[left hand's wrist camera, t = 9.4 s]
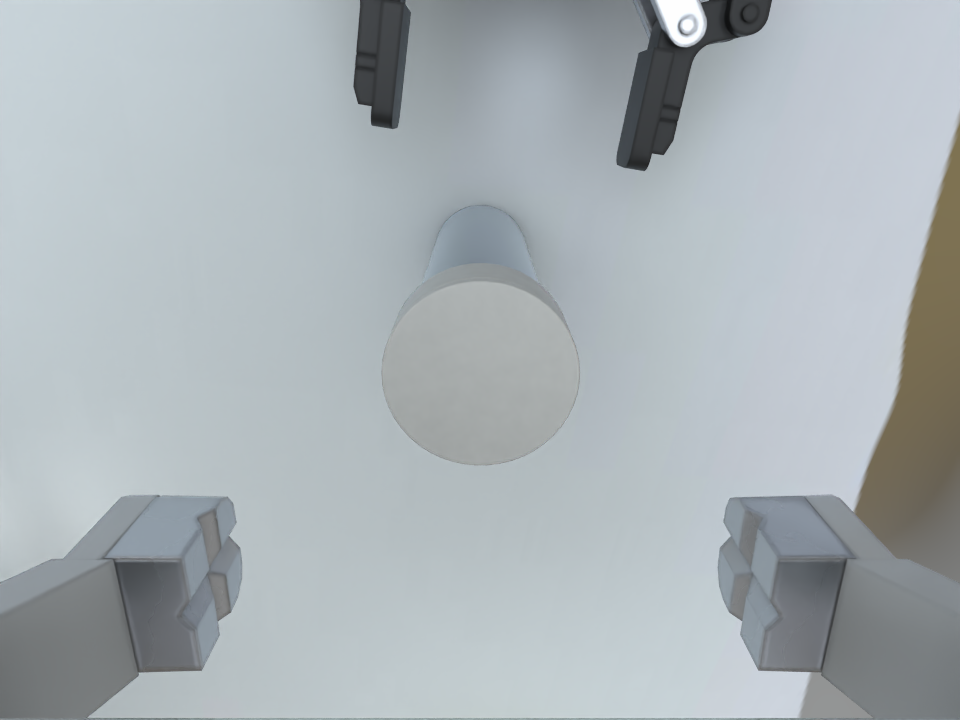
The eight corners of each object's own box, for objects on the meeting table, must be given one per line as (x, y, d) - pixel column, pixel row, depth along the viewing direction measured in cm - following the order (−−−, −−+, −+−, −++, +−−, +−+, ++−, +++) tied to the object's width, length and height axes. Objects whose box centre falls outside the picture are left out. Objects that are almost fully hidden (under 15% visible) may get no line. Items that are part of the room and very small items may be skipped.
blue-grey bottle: (542, 262, 31) (595, 391, 17) (469, 310, 32) (459, 473, 18) (492, 186, 30) (504, 257, 16) (417, 238, 31) (363, 350, 16)
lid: (602, 371, 18) (617, 402, 16) (458, 459, 19) (456, 497, 17) (505, 225, 17) (508, 240, 15) (355, 327, 18) (340, 353, 16)
